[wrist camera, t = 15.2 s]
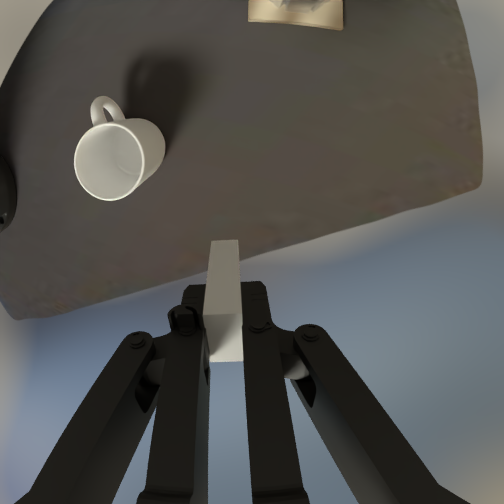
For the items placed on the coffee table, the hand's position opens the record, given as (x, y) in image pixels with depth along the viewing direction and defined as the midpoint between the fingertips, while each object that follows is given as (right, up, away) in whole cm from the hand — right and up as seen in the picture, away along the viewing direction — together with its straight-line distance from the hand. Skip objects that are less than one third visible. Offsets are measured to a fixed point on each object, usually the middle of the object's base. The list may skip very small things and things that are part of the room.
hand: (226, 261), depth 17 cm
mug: (-14, +16, +18) cm, 28 cm away
